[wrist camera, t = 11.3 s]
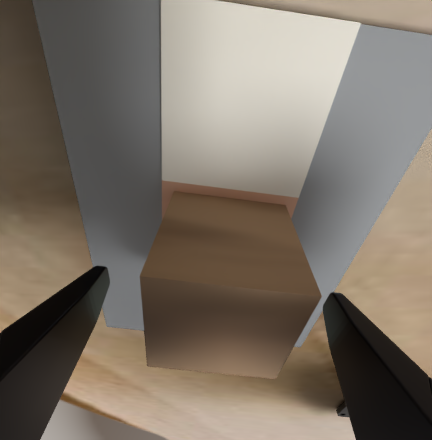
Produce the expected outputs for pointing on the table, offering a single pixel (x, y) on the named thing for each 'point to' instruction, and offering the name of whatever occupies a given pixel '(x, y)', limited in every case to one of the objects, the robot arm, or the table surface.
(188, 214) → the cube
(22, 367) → the robot arm
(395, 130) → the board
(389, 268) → the table surface
